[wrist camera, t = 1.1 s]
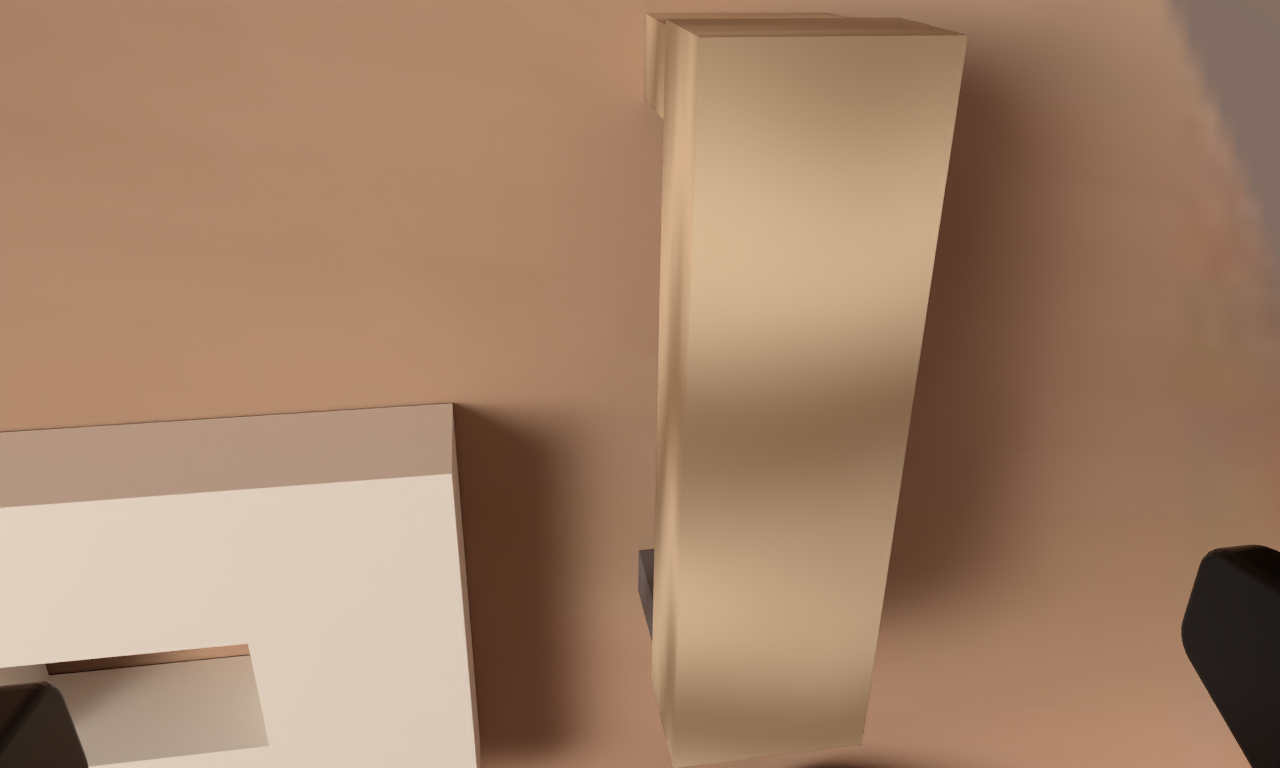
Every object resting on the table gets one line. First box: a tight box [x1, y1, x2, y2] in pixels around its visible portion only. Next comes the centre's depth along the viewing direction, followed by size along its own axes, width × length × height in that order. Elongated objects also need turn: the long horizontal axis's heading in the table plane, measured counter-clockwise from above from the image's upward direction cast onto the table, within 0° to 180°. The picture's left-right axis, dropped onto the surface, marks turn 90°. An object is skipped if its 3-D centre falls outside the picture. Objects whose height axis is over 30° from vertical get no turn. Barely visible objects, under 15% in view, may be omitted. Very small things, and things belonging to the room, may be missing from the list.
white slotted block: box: [0, 403, 481, 768], centre depth 21 cm, size 10×14×3 cm
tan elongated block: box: [638, 13, 968, 768], centre depth 19 cm, size 14×4×6 cm, turn 179°
